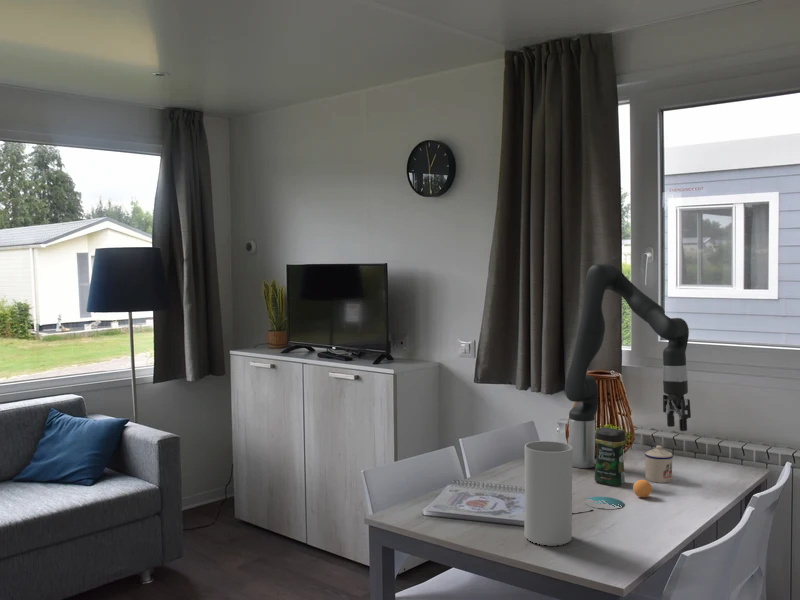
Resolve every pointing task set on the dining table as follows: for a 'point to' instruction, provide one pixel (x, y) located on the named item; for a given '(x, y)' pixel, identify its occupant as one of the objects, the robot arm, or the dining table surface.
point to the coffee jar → (610, 456)
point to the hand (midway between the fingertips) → (677, 428)
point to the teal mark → (608, 501)
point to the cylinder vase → (548, 493)
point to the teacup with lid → (658, 465)
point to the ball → (642, 488)
